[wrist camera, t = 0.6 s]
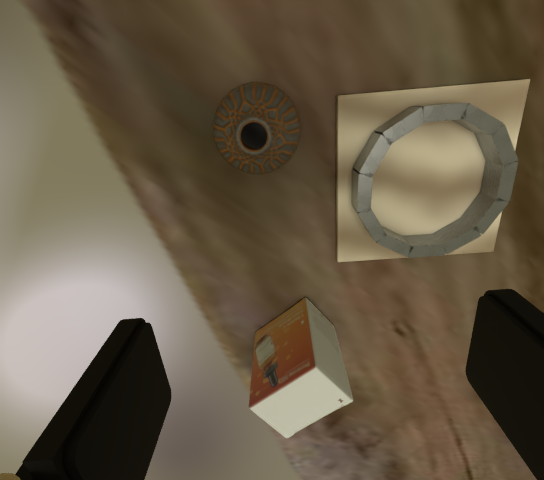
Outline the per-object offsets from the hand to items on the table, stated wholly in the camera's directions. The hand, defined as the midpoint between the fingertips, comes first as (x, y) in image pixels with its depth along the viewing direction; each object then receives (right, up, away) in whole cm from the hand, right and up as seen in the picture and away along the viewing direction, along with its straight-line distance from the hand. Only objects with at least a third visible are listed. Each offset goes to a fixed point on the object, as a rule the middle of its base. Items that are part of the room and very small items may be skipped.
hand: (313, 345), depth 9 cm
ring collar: (+13, +9, +21) cm, 26 cm away
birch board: (+13, +9, +22) cm, 27 cm away
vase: (-2, +13, +20) cm, 24 cm away
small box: (+1, -7, +29) cm, 30 cm away
